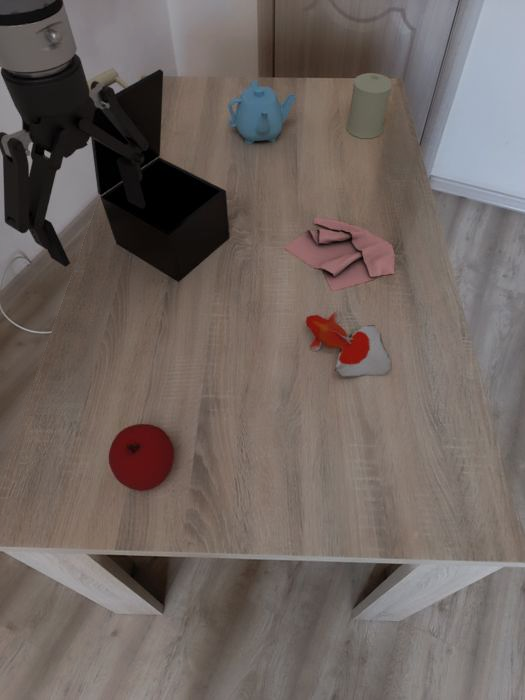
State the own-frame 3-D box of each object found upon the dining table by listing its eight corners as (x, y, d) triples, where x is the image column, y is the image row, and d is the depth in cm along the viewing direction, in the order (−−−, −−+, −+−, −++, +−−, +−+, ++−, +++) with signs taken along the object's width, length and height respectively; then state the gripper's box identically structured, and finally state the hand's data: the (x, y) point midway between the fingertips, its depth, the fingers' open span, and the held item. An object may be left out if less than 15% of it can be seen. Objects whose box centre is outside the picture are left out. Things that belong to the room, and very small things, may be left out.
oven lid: (163, 71, 79) (131, 46, 79) (91, 112, 72) (56, 83, 72) (160, 156, 95) (133, 134, 96) (100, 195, 88) (72, 172, 89)
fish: (339, 291, 85) (351, 281, 75) (394, 360, 84) (413, 359, 74) (292, 329, 84) (297, 323, 74) (347, 398, 84) (360, 402, 74)
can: (384, 121, 124) (395, 73, 114) (379, 141, 119) (390, 92, 109) (349, 116, 125) (357, 68, 115) (343, 135, 120) (350, 87, 110)
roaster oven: (229, 238, 99) (226, 190, 89) (178, 282, 92) (168, 236, 82) (168, 204, 105) (158, 156, 95) (116, 243, 98) (100, 196, 88)
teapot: (300, 132, 121) (303, 87, 112) (265, 157, 115) (265, 111, 106) (254, 112, 127) (253, 67, 117) (219, 134, 121) (215, 89, 111)
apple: (185, 485, 70) (175, 460, 61) (124, 507, 68) (105, 484, 60) (170, 431, 74) (158, 400, 66) (112, 450, 73) (93, 421, 64)
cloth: (408, 278, 93) (411, 270, 91) (300, 296, 90) (301, 287, 88) (373, 211, 104) (375, 202, 102) (276, 225, 101) (276, 216, 99)
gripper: (-54, 132, 38) (44, 301, 56) (157, 24, 50) (184, 192, 67) (-106, 103, 41) (4, 274, 58) (107, 6, 52) (145, 173, 70)
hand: (100, 231), depth 63 cm, fingers open, 13 cm apart
